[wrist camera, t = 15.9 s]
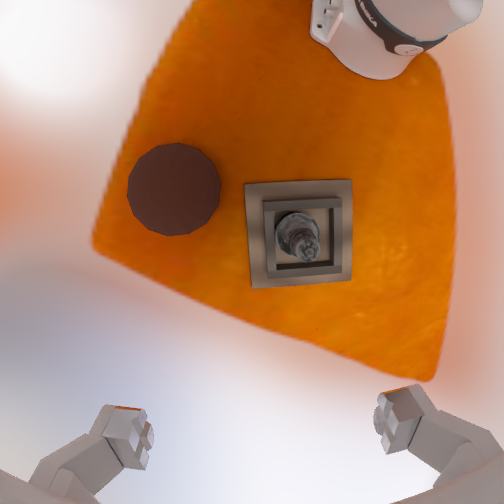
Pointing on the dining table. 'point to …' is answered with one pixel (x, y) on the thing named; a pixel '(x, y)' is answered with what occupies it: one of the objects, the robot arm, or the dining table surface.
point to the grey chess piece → (298, 236)
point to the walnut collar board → (316, 206)
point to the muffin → (174, 189)
